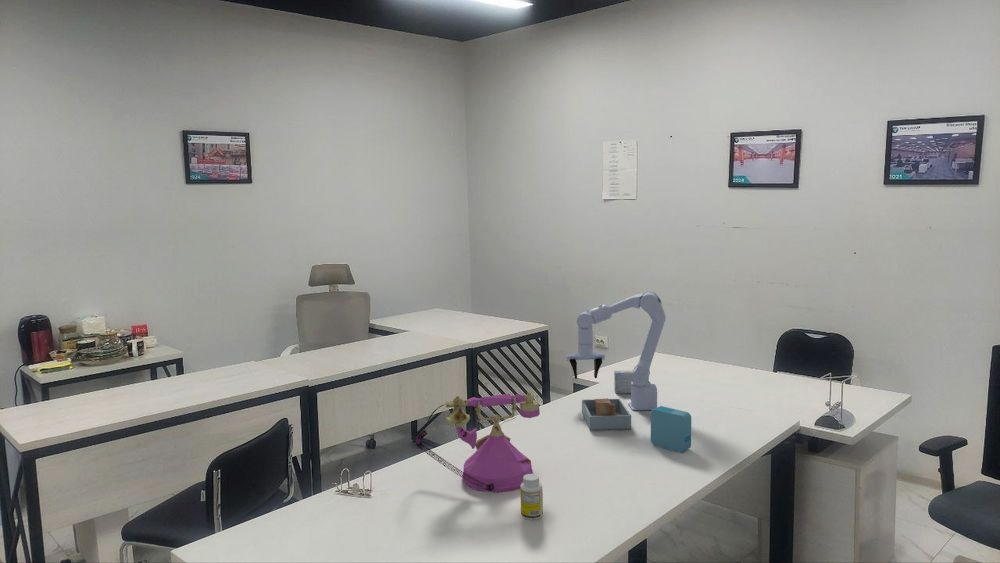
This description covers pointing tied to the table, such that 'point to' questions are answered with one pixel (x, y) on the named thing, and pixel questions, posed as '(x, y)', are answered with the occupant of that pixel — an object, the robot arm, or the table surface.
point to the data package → (671, 429)
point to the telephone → (490, 444)
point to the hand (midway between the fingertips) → (585, 377)
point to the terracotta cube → (598, 405)
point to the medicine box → (622, 381)
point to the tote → (606, 417)
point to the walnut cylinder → (607, 409)
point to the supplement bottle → (531, 497)
